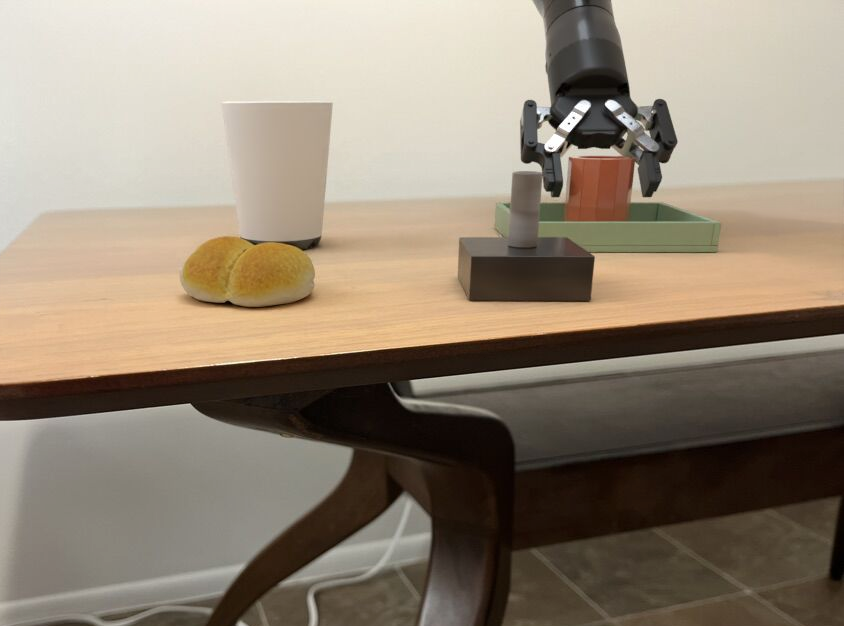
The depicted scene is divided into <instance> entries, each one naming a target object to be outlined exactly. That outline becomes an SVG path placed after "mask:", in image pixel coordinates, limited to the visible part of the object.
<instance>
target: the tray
mask: <svg viewBox="0 0 844 626" xmlns="http://www.w3.org/2000/svg"><path fill="white" fill-rule="evenodd" d="M510 203H511V202H495V209H494V228H495V230H496V231H497V232H498V233H499V234H500V235H502V237H508V235H509V219H510ZM564 208H565V201H564V202H558V201H557V202H555V201H553V202H540V215H539V228H538V237H567V238H569V239H570V240H572V241H573V242H574V243H576V244H577V245H579V246H580V247H582V248H583V249H585V250H586V251H587V252H589V253H718V248H719V241H720V234H721V230H722V229H721V228H722V222H721V221H718V220H715V219H713V218H710V217H706V216H704V215H701V214H698V213H695V212H692V211H690V210H686V209H683V208H681V207H677V206H675V205H671V204H668V203H665V202H662V201H658V202H657V201H656V202H653V201H652V202H650V201H649V202H648V201H645V202H641V201H640V202H639V201H637V202H636V201H635V202H634V201H633V202H632V201H631V203H630V212H629V221H628V222H563V220H564Z"/></svg>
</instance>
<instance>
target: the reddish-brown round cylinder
mask: <svg viewBox="0 0 844 626" xmlns="http://www.w3.org/2000/svg"><path fill="white" fill-rule="evenodd" d="M635 165H636V162H635V158H634V157H629V156H622V155H606V154H605V155H601V154H600V155H598V154H597V155H592V154H591V155H589V154H588V155H586V154H585V155H571V156H569V157H568V163H567V171H566V172H567V173H566V174H567V175H566V185H565V198H564V200H565V201H564V202H565V208H564V220H563V222H628V221H629V212H630V203H631V202H632V193H633V184H634V176H635V167H636V166H635Z"/></svg>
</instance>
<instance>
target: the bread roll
mask: <svg viewBox="0 0 844 626" xmlns="http://www.w3.org/2000/svg"><path fill="white" fill-rule="evenodd" d="M315 277H316V271H315V267H314V264H313V261H312V259H311V258H310V257H309V255H308V254H307V253H306V252H305V251H303V250H300V249H299V248H297V247H295V246H291V245H289V244H288V243H275V242H266V243H261V244H258V245H253V244H252V243H250V242H248V241H246V240H244V239H241V238H240V236H231V235H225V236H218V237H215V238H211V239H209V240H207V241H205V242H204V243H202V244H201V245H200V246H198V247H197V248H196V249H195V250H194V251H193V252H192V253H191V254H190V255H189V257H188V258H187V259H186V260H185V261H184V263H183V264H182V265H181V266H180V269H179V281H180V285H181V287H182V288H183V290H184V292H186V293H187V294H188V296H190V297H191V298H194V299H195V300H198V301H202V302H209V303H215V304H216V303H217V304H219V303H221V304H224V303H226V302H230V303H232V304H233V305H237V306H241V307H245V308H247V307H248V308H259V307H260V308H261V307H270V306H277V305H284V304H292V303H294V302H297V301H301V300H302V299H304V298H306V297H308V296H309V295H310V294H311V293H312V291H314V288H315V282H314V281H315Z"/></svg>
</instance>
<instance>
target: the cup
mask: <svg viewBox="0 0 844 626" xmlns="http://www.w3.org/2000/svg"><path fill="white" fill-rule="evenodd" d="M333 104H334V103H333V101H332V100H241V101H240V100H235V101H234V100H231V101H229V100H227V101H222V102H221V108H222V109H221V110H222V117H223V123H224V132H225V137H226V138H225V139H226V145H227V152H228V153H227V154H228V159H229V168H230V174H231V182H232V188H233V197H234V201H235V203H234V204H235V210H236V218H237V225H238V232H239V238H241V239H244V240H246V241H248V242H250V243H252V244H253V245H258V244H261V243H266V242H275V243H282V244H287V245H291V246H295V247H297V248H299V249H300V250H302V251H303V250H306V249H308V248H309V247H310V246H312V245H313V246H314V245H318V244H319V243H320V241H321V240H322V236H323V225H324V215H325V214H324V213H325V202H326V201H325V200H326V188H327V178H328V177H327V176H328V166H329V153H330V140H331V131H332V130H331V129H332V127H331V126H332V117H333V116H332V115H333Z"/></svg>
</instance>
